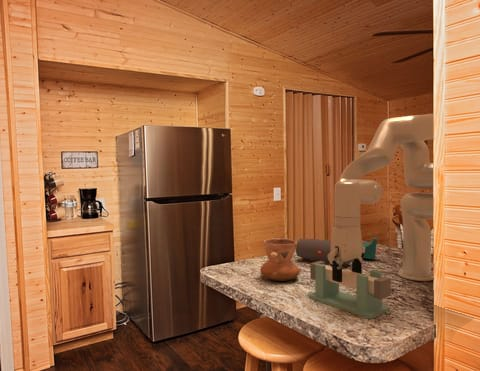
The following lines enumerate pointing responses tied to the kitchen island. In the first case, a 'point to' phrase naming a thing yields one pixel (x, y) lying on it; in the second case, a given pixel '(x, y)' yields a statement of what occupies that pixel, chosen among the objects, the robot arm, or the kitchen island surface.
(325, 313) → the kitchen island surface
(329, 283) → the rack
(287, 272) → the ceramic jug
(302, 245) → the bluetooth speaker
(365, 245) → the teal notched block
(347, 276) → the tan wooden bar
